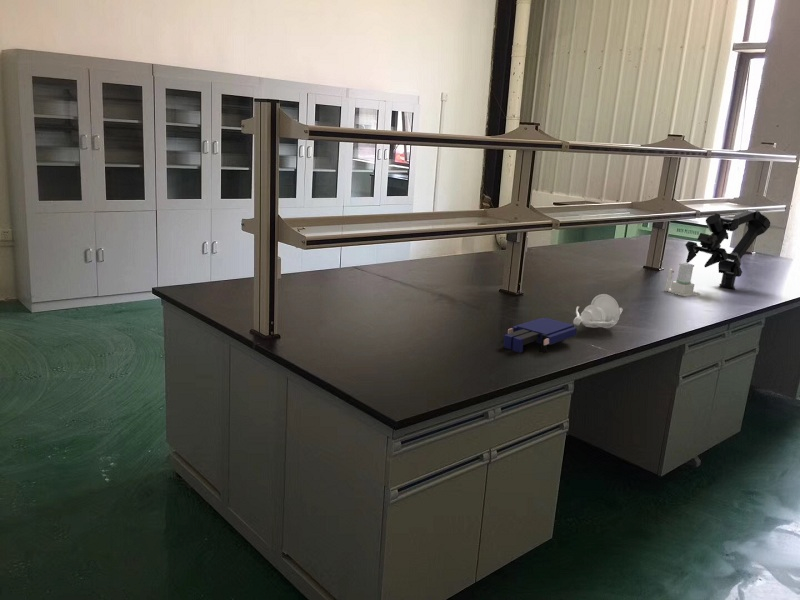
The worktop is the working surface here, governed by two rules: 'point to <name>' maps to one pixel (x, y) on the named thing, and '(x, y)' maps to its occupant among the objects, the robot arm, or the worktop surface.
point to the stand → (679, 287)
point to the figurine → (599, 313)
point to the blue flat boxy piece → (538, 334)
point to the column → (685, 273)
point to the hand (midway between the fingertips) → (695, 264)
